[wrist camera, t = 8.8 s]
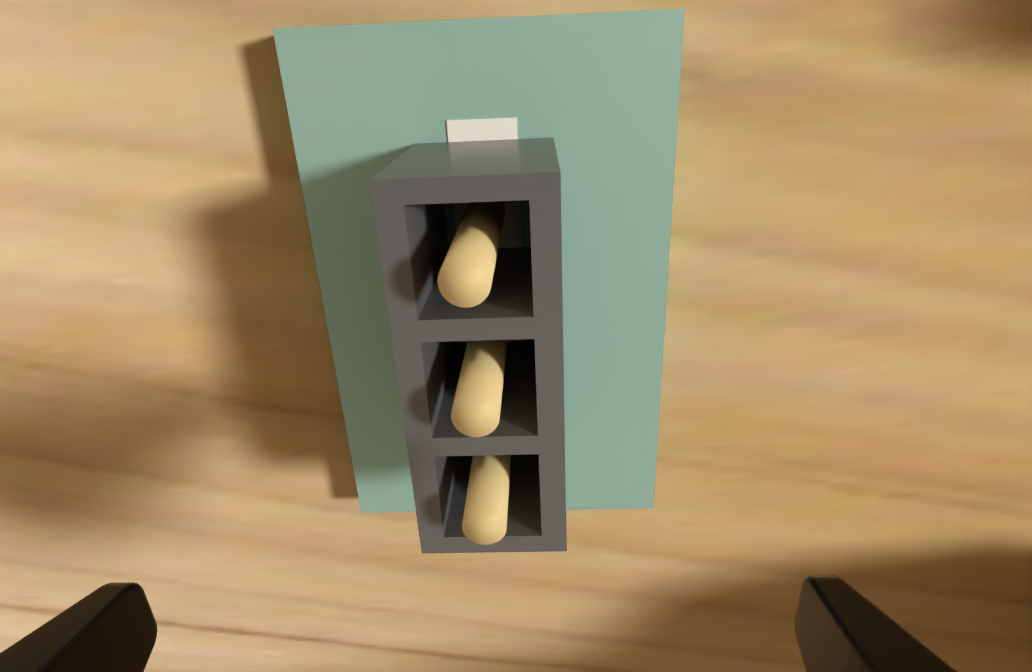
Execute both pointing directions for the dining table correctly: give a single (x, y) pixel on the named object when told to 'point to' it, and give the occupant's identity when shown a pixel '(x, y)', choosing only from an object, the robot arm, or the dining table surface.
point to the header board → (499, 226)
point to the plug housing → (477, 336)
